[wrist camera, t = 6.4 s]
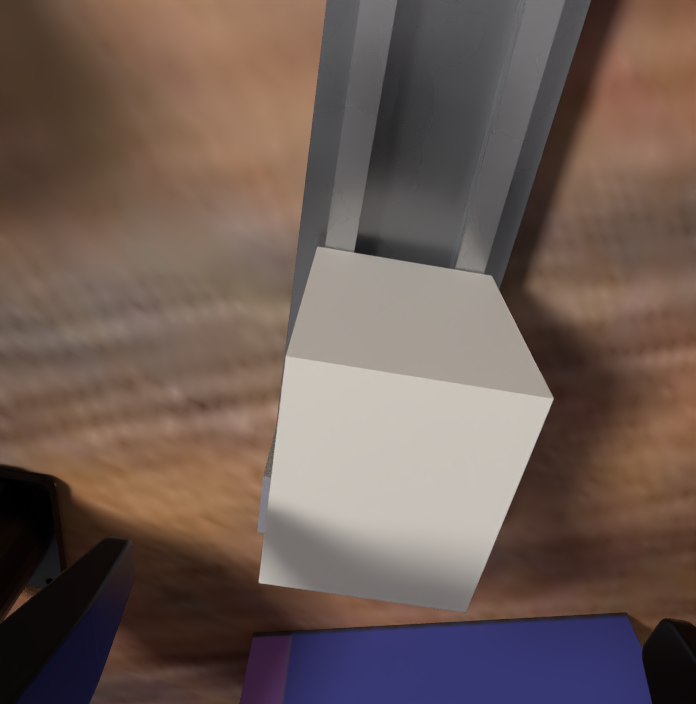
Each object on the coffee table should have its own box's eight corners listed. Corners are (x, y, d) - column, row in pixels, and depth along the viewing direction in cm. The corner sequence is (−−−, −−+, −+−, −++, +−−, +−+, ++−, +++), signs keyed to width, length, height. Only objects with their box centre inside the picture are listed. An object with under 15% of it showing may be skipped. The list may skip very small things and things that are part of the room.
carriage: (450, 448, 18) (480, 614, 13) (292, 424, 18) (258, 583, 13) (504, 277, 15) (573, 401, 10) (317, 246, 15) (285, 356, 10)
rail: (428, 475, 22) (439, 568, 18) (276, 452, 21) (254, 541, 18) (740, -555, 10) (972, -938, 6) (409, -631, 10) (431, -1080, 6)
